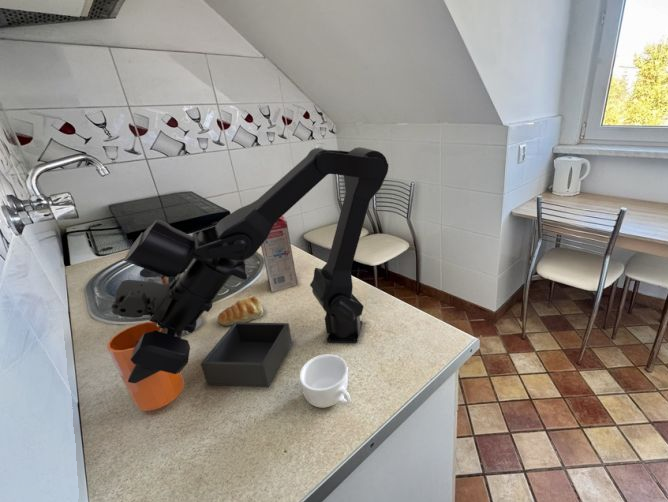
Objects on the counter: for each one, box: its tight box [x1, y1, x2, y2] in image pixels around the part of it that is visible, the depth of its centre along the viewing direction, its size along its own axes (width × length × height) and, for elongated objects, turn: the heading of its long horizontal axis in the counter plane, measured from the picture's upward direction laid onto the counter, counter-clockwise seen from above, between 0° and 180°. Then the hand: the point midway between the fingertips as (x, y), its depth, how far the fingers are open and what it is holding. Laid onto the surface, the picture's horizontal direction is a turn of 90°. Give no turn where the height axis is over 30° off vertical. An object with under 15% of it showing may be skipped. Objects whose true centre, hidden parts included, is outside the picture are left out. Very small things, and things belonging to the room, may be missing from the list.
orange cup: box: [106, 321, 186, 412], centre depth 51 cm, size 7×7×12 cm
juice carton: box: [260, 215, 298, 293], centre depth 85 cm, size 7×7×22 cm
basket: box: [200, 321, 293, 388], centre depth 61 cm, size 11×11×5 cm
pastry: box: [217, 295, 264, 327], centre depth 74 cm, size 9×7×4 cm
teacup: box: [299, 353, 352, 408], centre depth 53 cm, size 10×8×5 cm
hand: (137, 365), depth 50 cm, fingers closed on orange cup, 7 cm apart
